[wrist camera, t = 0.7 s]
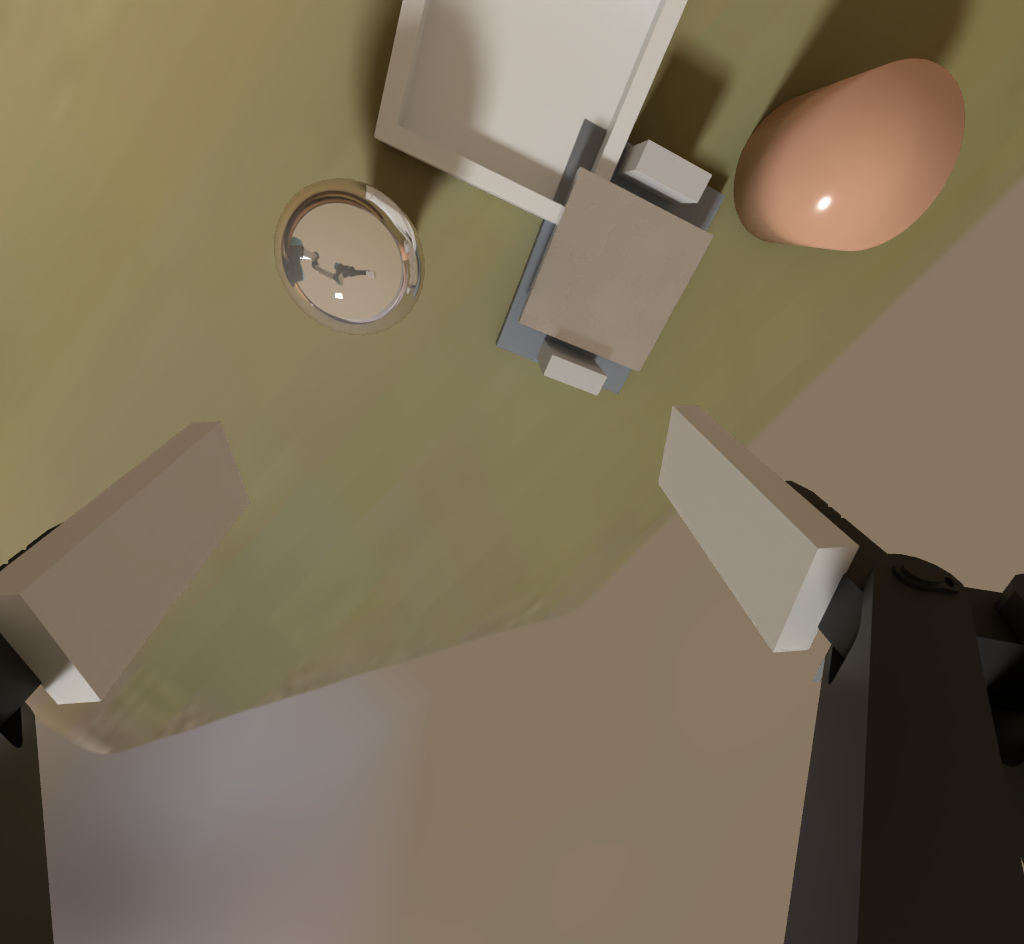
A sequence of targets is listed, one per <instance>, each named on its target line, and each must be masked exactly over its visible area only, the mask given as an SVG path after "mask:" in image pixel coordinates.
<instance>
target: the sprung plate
mask: <svg viewBox="0 0 1024 944" xmlns="http://www.w3.org/2000/svg"><path fill="white" fill-rule="evenodd" d="M713 237H714V235H712V234H710V233H708V232H706V231H704V230H702V229H700V228H698V227H696V226H694V225H692V224H690V223H689V222H687V221H685V220H683V219H681V218H679V217H677V216H675V215H673V214H671V213H669V212H667V211H665V210H663V209H662V208H660V207H658V206H656V205H654V204H652V203H650V202H648V201H646V200H644V199H642V198H640V197H638V196H636V195H635V194H633V193H631V192H629V191H627V190H625V189H623V188H621V187H619V186H617V185H615V184H613V183H611V182H609V181H608V180H606V179H604V178H602V177H600V176H598V175H596V174H594V173H592V172H590V171H588V170H586V169H584V168H582V167H580V168H578V170H577V172H576V175H575V177H574V180H573V182H572V185H571V187H570V190H569V192H568V195H567V197H566V200H565V202H564V205H563V207H562V210H561V212H560V215H559V218H558V220H557V223H556V225H555V228H554V230H553V233H552V235H551V238H550V240H549V243H548V245H547V248H546V250H545V253H544V255H543V258H542V260H541V263H540V265H539V268H538V270H537V273H536V275H535V278H534V280H533V283H532V285H531V288H530V290H529V293H528V295H527V298H526V300H525V303H524V306H523V308H522V311H521V313H520V316H519V318H518V321H519V323H521V324H523V325H526V326H528V327H530V328H533V329H535V330H538V331H540V332H543V333H545V334H548V335H550V336H552V337H555V338H557V339H560V340H562V341H565V342H567V343H570V344H572V345H574V346H577V347H579V348H582V349H584V350H587V351H589V352H591V353H594V354H596V355H599V356H601V357H604V358H606V359H609V360H611V361H613V362H616V363H618V364H621V365H623V366H626V367H628V368H631V369H633V370H635V371H638V372H639V371H640V369H641V368H642V366H643V364H644V362H645V360H646V358H647V357H648V355H649V353H650V351H651V349H652V348H653V346H654V344H655V342H656V340H657V338H658V337H659V335H660V333H661V331H662V329H663V328H664V326H665V324H666V322H667V320H668V319H669V317H670V315H671V313H672V311H673V309H674V308H675V306H676V304H677V302H678V300H679V299H680V297H681V295H682V293H683V291H684V289H685V288H686V286H687V284H688V282H689V280H690V279H691V277H692V275H693V273H694V271H695V269H696V268H697V266H698V264H699V262H700V260H701V259H702V257H703V255H704V253H705V251H706V249H707V248H708V246H709V244H710V242H711V240H712V239H713Z"/></svg>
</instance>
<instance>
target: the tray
mask: <svg viewBox="0 0 1024 944" xmlns="http://www.w3.org/2000/svg"><path fill="white" fill-rule="evenodd" d="M687 1H688V0H403V2H402V7H401V11H400V16H399V21H398V25H397V30H396V35H395V40H394V44H393V49H392V54H391V58H390V63H389V68H388V73H387V77H386V82H385V87H384V91H383V96H382V101H381V106H380V110H379V115H378V120H377V125H376V129H375V134H374V137H375V138H376V139H378V140H379V141H380V142H382V143H384V144H386V145H388V146H390V147H392V148H394V149H396V150H399V151H401V152H403V153H405V154H407V155H409V156H411V157H413V158H415V159H417V160H420V161H422V162H424V163H426V164H428V165H430V166H432V167H434V168H436V169H438V170H441V171H443V172H445V173H447V174H449V175H451V176H453V177H455V178H457V179H459V180H462V181H464V182H466V183H468V184H470V185H472V186H474V187H476V188H478V189H480V190H483V191H485V192H487V193H489V194H491V195H493V196H495V197H497V198H499V199H502V200H504V201H506V202H508V203H510V204H512V205H514V206H516V207H518V208H520V209H523V210H525V211H527V212H529V213H531V214H533V215H535V216H537V217H539V218H541V219H544V220H547V221H549V222H551V223H553V224H555V225H556V223H557V220H558V218H559V215H560V212H561V210H562V207H563V206H562V205H563V204H562V203H563V202H565V199H566V197H564V201H563V198H562V197H561V196H560V195H561V194H562V195H563V194H564V193H565V192H566V191H567V190H568V191H569V190H570V188H569V189H568V187H567V186H568V185H571V184H572V182H573V181H572V180H574V177H575V174H576V172H577V170H578V168H580V167H582V168H583V167H584V166H585V165H586V163H588V164H589V163H590V164H591V165H588V164H587V165H588V167H589V168H590V169H589V168H588V167H587V166H585V167H587V168H585V167H584V169H586V170H587V169H588V171H590V170H591V172H592V173H594V174H596V175H598V176H600V177H602V178H604V179H606V180H608V181H609V182H610V179H611V177H612V175H613V172H614V170H615V168H616V166H617V163H618V161H619V159H620V156H621V154H622V152H623V149H624V147H625V145H626V142H627V140H628V138H629V135H630V133H631V131H632V128H633V126H634V124H635V121H636V119H637V117H638V114H639V112H640V110H641V107H642V105H643V103H644V100H645V98H646V96H647V94H648V91H649V89H650V87H651V84H652V82H653V80H654V77H655V75H656V73H657V70H658V68H659V66H660V63H661V61H662V59H663V56H664V54H665V52H666V49H667V47H668V45H669V42H670V40H671V38H672V35H673V33H674V31H675V28H676V26H677V24H678V22H679V19H680V17H681V15H682V12H683V10H684V8H685V5H686V3H687ZM584 119H585V120H584ZM586 120H589V121H590V122H592V123H590V122H589V121H588V122H589V123H590V126H591V127H590V129H589V125H588V129H586V130H590V131H589V132H590V133H589V132H588V133H589V134H590V135H589V134H588V133H584V132H585V131H586V130H583V129H584V128H586V127H587V126H586V125H587V122H586ZM584 121H585V122H584ZM583 122H584V123H585V124H586V125H585V126H586V127H585V126H584V125H583V124H584V123H583ZM593 123H594V124H593ZM591 124H593V125H596V128H594V127H595V126H592V125H591ZM597 125H598V126H597ZM583 126H584V127H583ZM599 126H600V127H601V128H603V129H602V130H604V133H603V134H605V132H607V133H606V135H605V138H604V135H603V136H602V135H601V134H597V133H602V132H603V131H601V128H600V127H599ZM582 127H583V128H582ZM592 127H593V128H594V129H592ZM598 127H599V128H598ZM580 129H582V130H583V132H582V130H580ZM598 129H599V130H598ZM595 130H596V131H595ZM605 130H607V131H605ZM579 131H580V132H579ZM593 131H595V133H596V132H597V133H596V134H593ZM598 131H599V132H598ZM600 131H601V132H600ZM581 132H582V133H584V134H586V135H584V137H583V134H582V133H581ZM580 133H581V134H580ZM591 134H593V135H594V136H593V138H592V137H591V136H592V135H591ZM579 135H580V136H579ZM599 135H601V136H600V137H599ZM585 136H587V137H588V136H590V137H588V138H585ZM580 137H582V138H580ZM594 137H595V138H594ZM597 137H599V139H597ZM601 137H603V138H601ZM577 138H579V139H577ZM583 138H584V139H588V140H587V141H588V142H587V143H589V142H590V143H589V144H588V145H587V146H586V145H585V146H586V149H587V147H589V146H591V147H589V148H588V150H587V151H588V152H586V153H589V152H590V151H589V149H590V148H593V149H595V150H593V149H590V150H591V152H592V151H594V152H592V153H589V154H591V155H589V154H587V155H588V157H587V156H586V158H585V157H584V156H585V155H584V153H585V150H586V149H584V150H582V149H583V148H582V147H583V146H584V144H585V143H584V144H579V143H578V142H580V141H579V140H580V139H583ZM589 138H590V139H589ZM591 138H592V140H593V141H595V142H593V141H592V140H591ZM576 139H577V140H576ZM584 139H583V140H582V141H581V142H580V143H583V142H585V140H584ZM600 139H601V140H600ZM602 139H603V140H602ZM589 140H591V141H589ZM597 140H598V141H599V143H600V144H601V143H602V144H601V146H599V145H597V142H598V141H597ZM576 141H578V142H576ZM600 141H601V142H600ZM602 141H603V142H602ZM591 142H593V143H594V144H593V143H591ZM578 144H579V145H578ZM574 145H575V146H574ZM580 145H583V146H582V147H581V146H580ZM593 145H594V147H596V148H594V147H592V146H593ZM576 146H577V148H576ZM579 146H580V147H581V148H582V149H580V147H579ZM597 146H598V148H599V149H600V150H599V149H598V148H597ZM573 147H575V148H574V149H576V150H574V149H573ZM578 148H579V149H580V150H579V149H578ZM577 149H578V151H577ZM572 150H573V151H572ZM596 150H598V151H597V153H596ZM580 151H581V153H583V152H584V153H583V154H581V157H582V159H583V158H585V159H588V160H586V161H589V158H590V156H592V154H593V153H594V154H593V157H594V158H596V160H595V161H594V158H592V157H591V158H592V159H590V160H591V161H593V162H594V163H593V162H591V161H590V162H586V161H584V160H585V159H583V160H582V159H581V160H582V162H579V161H578V162H579V163H576V161H577V160H580V156H579V155H580ZM573 152H574V153H573ZM578 152H579V153H578ZM571 154H573V155H571ZM596 154H597V155H596ZM582 155H583V156H582ZM595 155H596V156H595ZM573 156H575V157H576V158H575V157H573ZM577 156H578V157H577ZM572 157H573V158H574V159H572V160H575V161H572V162H573V163H572V164H574V165H571V160H570V161H569V159H571V158H572ZM578 158H579V159H578ZM568 161H569V162H570V164H568V163H569V162H568ZM567 162H568V163H567ZM583 162H586V163H583ZM580 163H583V164H580ZM592 163H593V164H592ZM576 164H577V165H576ZM578 164H580V165H578ZM568 165H569V167H571V166H572V168H567V170H566V174H565V176H567V177H565V176H564V177H565V178H566V179H565V178H564V177H562V176H563V174H564V172H565V168H566V166H568ZM570 165H571V166H570ZM575 165H576V167H575ZM582 165H584V166H582ZM592 165H593V167H592ZM573 166H574V168H575V169H574V168H573ZM577 166H579V167H577ZM591 167H592V168H591ZM569 169H570V172H569V173H570V174H569V176H568V175H567V174H568V173H567V171H568V170H569ZM576 169H577V170H576ZM574 170H575V171H576V172H575V171H574ZM571 171H572V172H573V177H572V180H568V179H571V176H572V175H571ZM574 173H575V174H574ZM568 177H569V178H568ZM561 178H562V179H563V178H564V179H565V180H568V181H571V184H568V183H570V182H568V181H566V182H568V183H565V181H564V179H563V180H562V179H561ZM567 178H568V179H567ZM560 180H561V182H562V183H561V182H560ZM563 181H564V183H565V186H566V187H563V186H564V185H563V186H562V184H563ZM559 183H560V184H561V185H559ZM559 186H560V187H559ZM561 186H562V187H563V188H564V189H565V188H567V189H565V190H566V191H564V189H563V188H562V187H561ZM569 187H570V186H569ZM558 188H560V190H561V192H560V191H559V190H557V189H558ZM562 189H563V191H564V193H563V191H562ZM557 191H558V192H557ZM568 191H567V193H565V194H564V196H565V195H566V196H567V195H568ZM559 192H560V193H559ZM555 193H559V194H555ZM555 195H558V196H555ZM559 196H560V197H559ZM555 197H557V198H558V200H557V203H556V200H555V199H557V198H555ZM560 198H561V199H562V201H560ZM554 200H555V201H554ZM558 201H559V202H560V203H559V202H558Z"/></svg>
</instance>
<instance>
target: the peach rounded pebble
mask: <svg viewBox="0 0 1024 944" xmlns="http://www.w3.org/2000/svg"><path fill="white" fill-rule="evenodd" d="M964 127H965V109H964V101H963V97H962V93H961V90H960V88H959V86H958V84H957V82H956V80H955V79H954V77H953V76H952V75H951V73H949V72H948V71H947V70H946V69H945V68H944V67H942V66H941V65H939V64H937V63H936V62H932V61H929V60H926V59H917V58H913V59H903V60H899V61H895V62H891V63H889V64H886V65H883V66H880V67H877V68H874V69H872V70H869V71H866V72H863V73H860V74H858V75H855V76H852V77H849V78H846V79H844V80H841V81H838V82H835V83H832V84H830V85H827V86H824V87H821V88H818V89H816V90H813V91H810V92H807V93H804V94H802V95H799V96H796V97H794V98H791V99H789V100H788V101H786V102H784V103H782V104H781V105H780V106H778V107H777V108H775V109H774V110H773V111H772V112H771V113H770V114H768V115H767V116H766V117H765V118H764V119H763V121H762V122H761V123H760V124H759V125H758V126H757V128H756V129H755V130H754V132H753V133H752V135H751V136H750V138H749V140H748V141H747V143H746V145H745V147H744V149H743V151H742V154H741V156H740V159H739V162H738V165H737V169H736V173H735V180H734V202H735V207H736V211H737V213H738V216H739V218H740V220H741V222H742V224H743V225H744V227H745V228H746V229H747V230H748V231H749V232H750V233H751V234H752V235H754V236H755V237H757V238H759V239H761V240H763V241H767V242H771V243H780V244H789V245H798V246H807V247H816V248H825V249H834V250H844V251H857V250H863V249H868V248H872V247H874V246H877V245H880V244H882V243H884V242H886V241H888V240H890V239H892V238H893V237H895V236H897V235H898V234H900V233H901V232H903V231H904V230H905V229H906V228H908V227H909V226H910V225H911V224H912V223H914V222H915V221H916V220H917V219H918V218H919V217H920V216H921V215H922V214H923V213H924V212H925V211H926V210H927V209H928V207H929V206H930V205H931V204H932V202H933V201H934V200H935V198H936V197H937V196H938V194H939V193H940V191H941V190H942V188H943V187H944V185H945V183H946V181H947V179H948V178H949V176H950V174H951V172H952V169H953V167H954V165H955V163H956V160H957V157H958V154H959V151H960V148H961V144H962V140H963V134H964Z"/></svg>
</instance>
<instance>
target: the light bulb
mask: <svg viewBox="0 0 1024 944" xmlns="http://www.w3.org/2000/svg"><path fill="white" fill-rule="evenodd" d="M274 257H275V262H276V268H277V271H278V273H279V276H280V279H281V282H282V284H283V285H284V287H285V289H286V291H287V293H288V294H289V296H290V297H291V298H292V300H293V301H294V302H295V303H296V305H297V306H298V307H299V308H300V309H301V310H302V311H303V312H304V313H305V314H306V315H307V316H309V317H310V318H311V319H313V320H314V321H316V322H317V323H319V324H320V325H322V326H324V327H327V328H329V329H331V330H333V331H337V332H341V333H345V334H349V335H362V336H364V335H371V334H377V333H380V332H382V331H385V330H388V329H390V328H391V327H393V326H394V325H396V324H398V323H399V322H401V321H402V320H403V319H404V318H405V317H406V316H407V315H408V314H409V313H410V312H411V311H412V309H413V307H414V306H415V304H416V303H417V301H418V299H419V296H420V293H421V291H422V288H423V282H424V276H425V259H424V253H423V248H422V244H421V241H420V238H419V236H418V233H417V231H416V229H415V227H414V225H413V224H412V222H411V220H410V219H409V217H408V215H407V214H406V213H405V212H404V211H403V210H402V209H401V207H400V206H399V205H398V204H397V203H396V202H395V201H394V200H392V199H391V198H390V197H389V196H388V195H386V194H385V193H384V192H382V191H381V190H379V189H377V188H375V187H373V186H371V185H370V184H367V183H364V182H361V181H357V180H354V179H344V178H334V179H327V180H321V181H318V182H315V183H313V184H311V185H308V186H306V187H304V188H303V189H302V190H300V191H299V192H298V193H296V194H295V195H294V196H293V197H292V198H291V200H290V201H289V202H288V203H287V205H286V206H285V207H284V209H283V212H282V214H281V216H280V218H279V220H278V222H277V226H276V231H275V235H274Z"/></svg>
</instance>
